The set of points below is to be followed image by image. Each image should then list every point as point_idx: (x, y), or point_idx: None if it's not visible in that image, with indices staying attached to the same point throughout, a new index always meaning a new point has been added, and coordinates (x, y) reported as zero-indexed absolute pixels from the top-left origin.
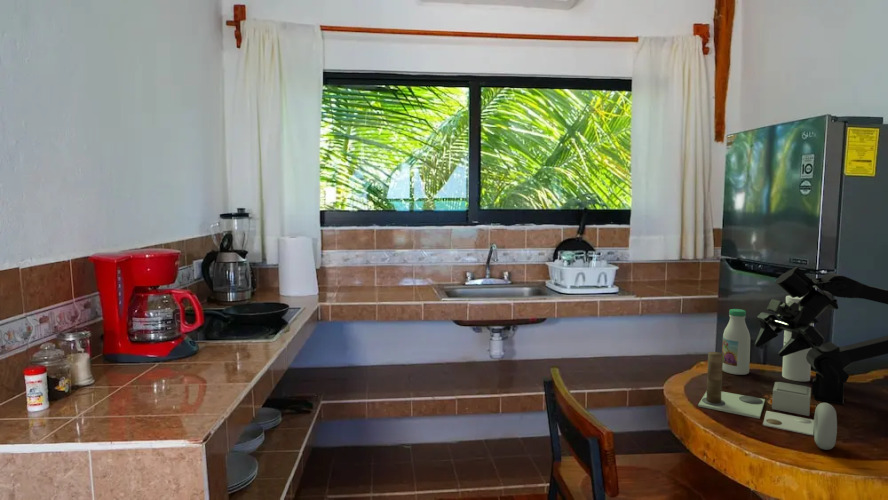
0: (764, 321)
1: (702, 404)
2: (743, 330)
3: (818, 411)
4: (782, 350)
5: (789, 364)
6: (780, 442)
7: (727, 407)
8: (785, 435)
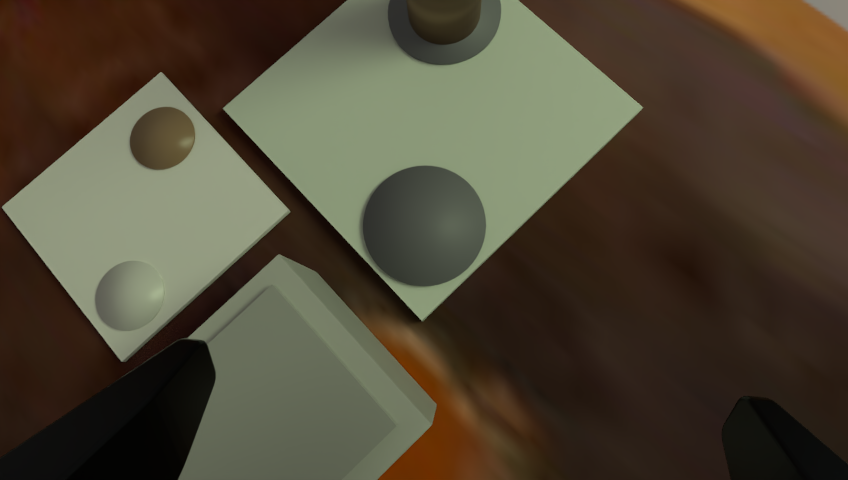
0: None
1: None
2: None
3: None
4: (117, 382)
5: None
6: (13, 26)
7: (360, 33)
8: (53, 94)
